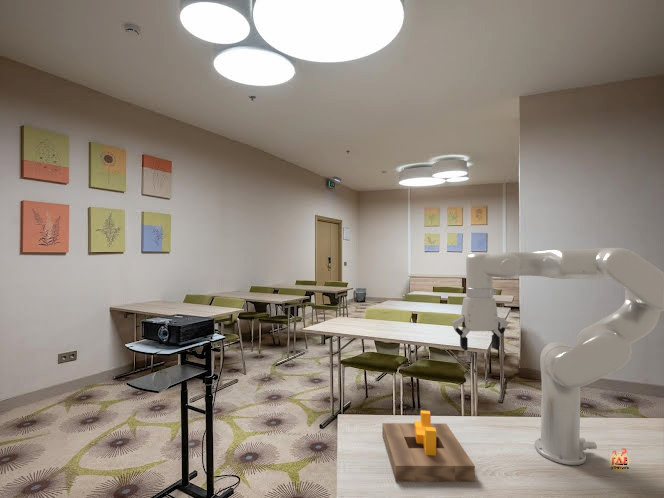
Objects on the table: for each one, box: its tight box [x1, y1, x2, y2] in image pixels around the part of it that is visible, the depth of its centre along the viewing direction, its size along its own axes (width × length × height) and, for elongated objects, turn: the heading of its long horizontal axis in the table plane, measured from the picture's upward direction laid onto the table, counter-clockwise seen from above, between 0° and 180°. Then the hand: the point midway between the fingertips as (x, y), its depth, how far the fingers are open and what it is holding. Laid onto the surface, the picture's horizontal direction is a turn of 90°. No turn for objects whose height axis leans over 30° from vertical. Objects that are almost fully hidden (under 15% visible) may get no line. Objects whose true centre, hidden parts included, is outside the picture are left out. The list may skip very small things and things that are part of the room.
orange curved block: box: [414, 409, 436, 456], centre depth 103 cm, size 12×4×6 cm, turn 173°
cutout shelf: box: [381, 422, 476, 483], centre depth 103 cm, size 20×22×4 cm
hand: (479, 349), depth 113 cm, fingers open, 9 cm apart
